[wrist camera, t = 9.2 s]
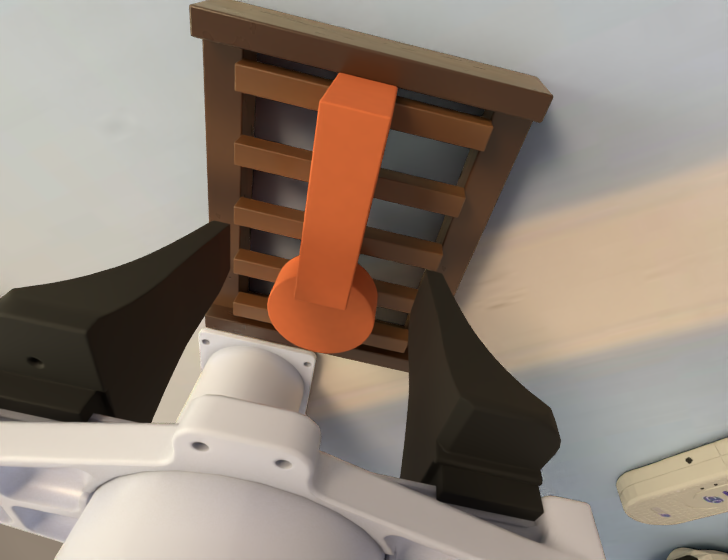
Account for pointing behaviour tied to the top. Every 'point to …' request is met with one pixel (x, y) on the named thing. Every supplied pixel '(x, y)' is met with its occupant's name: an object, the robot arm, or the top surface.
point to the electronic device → (678, 487)
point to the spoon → (336, 222)
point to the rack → (458, 203)
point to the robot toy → (696, 554)
